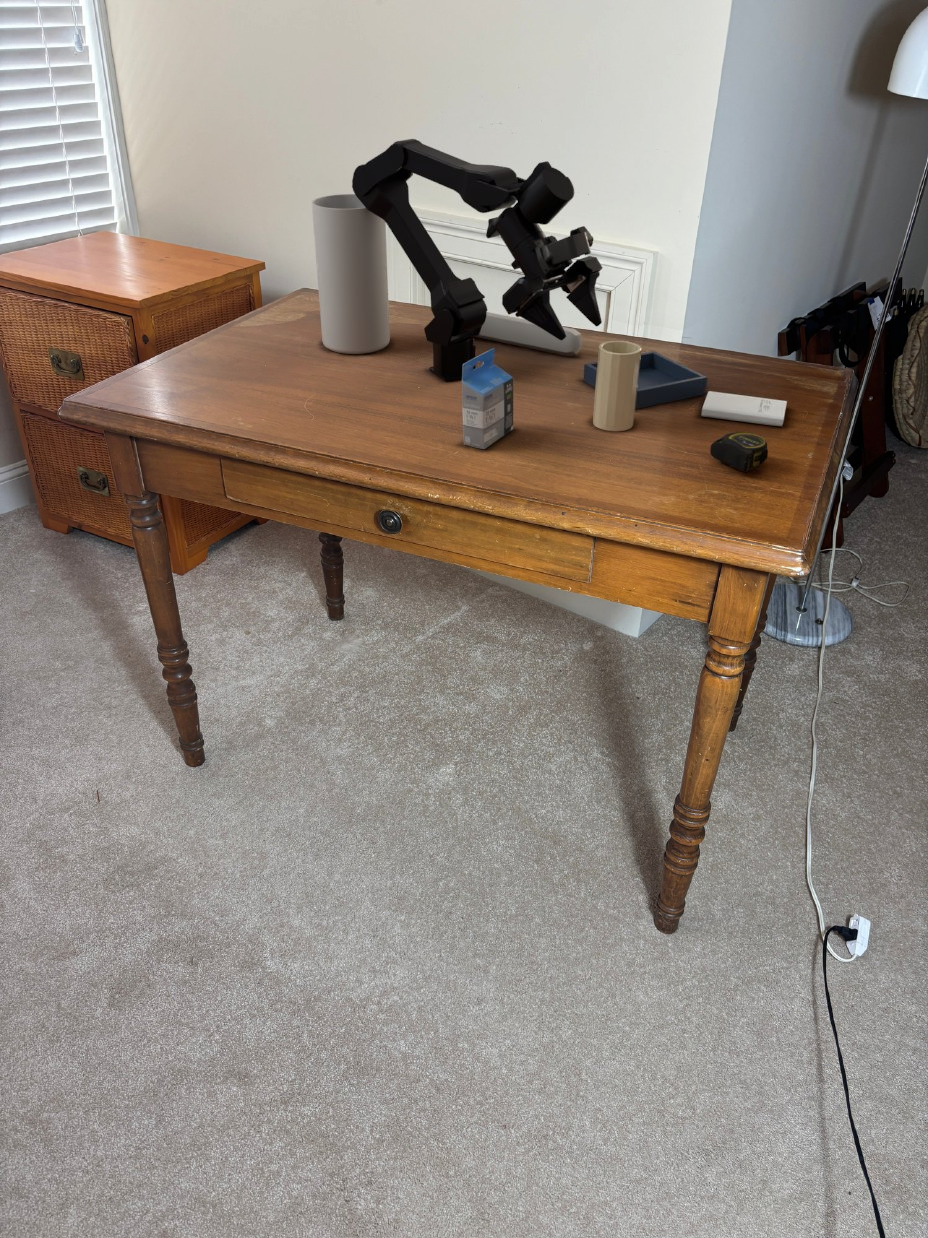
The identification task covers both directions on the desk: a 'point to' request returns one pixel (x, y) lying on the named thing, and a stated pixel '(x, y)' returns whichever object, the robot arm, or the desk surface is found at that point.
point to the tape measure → (740, 450)
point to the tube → (528, 335)
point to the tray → (659, 380)
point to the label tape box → (486, 401)
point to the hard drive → (744, 408)
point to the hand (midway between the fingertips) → (582, 331)
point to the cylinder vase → (351, 275)
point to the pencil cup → (616, 385)
